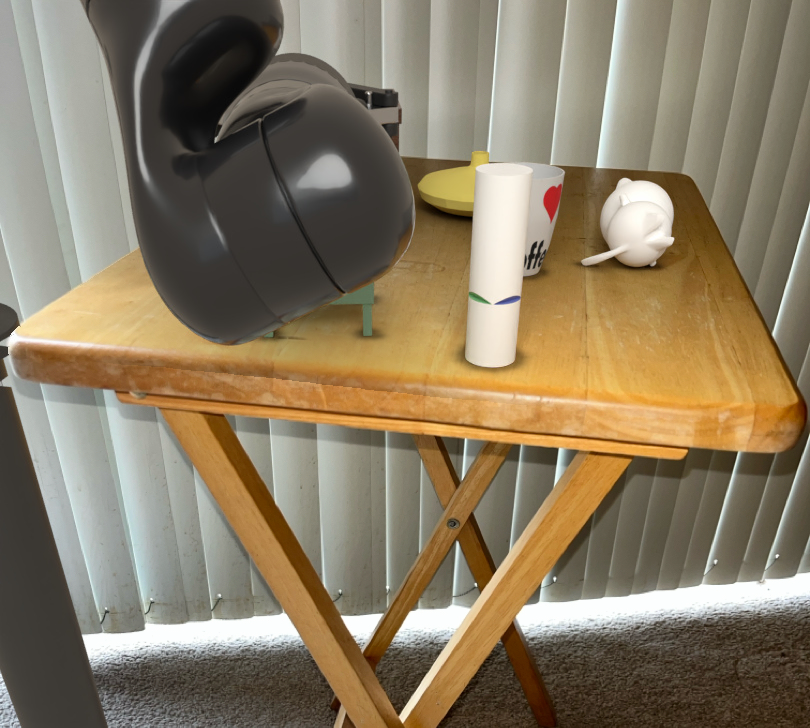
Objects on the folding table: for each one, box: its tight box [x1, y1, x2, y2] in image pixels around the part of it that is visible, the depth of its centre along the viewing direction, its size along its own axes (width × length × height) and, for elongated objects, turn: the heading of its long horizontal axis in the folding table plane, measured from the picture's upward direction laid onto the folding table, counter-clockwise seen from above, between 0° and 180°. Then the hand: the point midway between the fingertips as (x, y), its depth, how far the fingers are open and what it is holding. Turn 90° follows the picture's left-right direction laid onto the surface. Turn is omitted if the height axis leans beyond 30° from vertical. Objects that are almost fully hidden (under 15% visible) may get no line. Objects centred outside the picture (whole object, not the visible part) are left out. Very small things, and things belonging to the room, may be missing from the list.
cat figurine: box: [580, 177, 675, 268], centre depth 92 cm, size 9×11×12 cm
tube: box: [464, 162, 533, 368], centre depth 67 cm, size 4×4×15 cm
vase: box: [417, 150, 490, 217], centre depth 108 cm, size 16×16×7 cm
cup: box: [506, 161, 566, 277], centre depth 88 cm, size 8×8×10 cm
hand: (304, 92), depth 60 cm, fingers closed
